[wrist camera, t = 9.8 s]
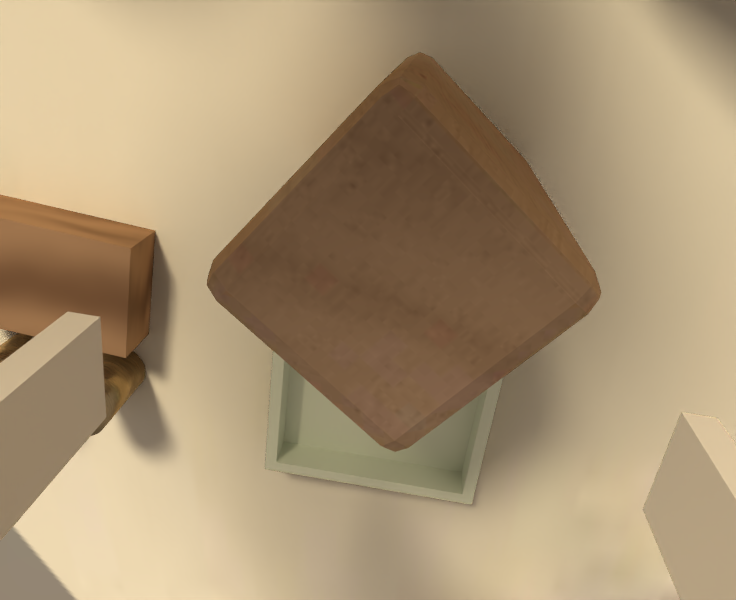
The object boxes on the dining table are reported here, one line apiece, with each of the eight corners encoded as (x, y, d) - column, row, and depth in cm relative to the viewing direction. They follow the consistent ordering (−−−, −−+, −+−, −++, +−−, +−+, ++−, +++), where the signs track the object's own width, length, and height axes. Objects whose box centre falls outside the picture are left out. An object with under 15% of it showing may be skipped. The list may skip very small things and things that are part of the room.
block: (420, 43, 36) (398, 63, 17) (535, 169, 38) (622, 304, 19) (304, 166, 39) (185, 288, 21) (415, 275, 41) (394, 472, 23)
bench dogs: (6, 328, 46) (-52, 368, 41) (144, 350, 46) (104, 394, 40) (12, 369, 48) (-44, 413, 42) (146, 392, 47) (107, 439, 42)
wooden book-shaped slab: (-14, 189, 42) (-57, 205, 39) (157, 229, 42) (130, 248, 39) (-8, 294, 46) (-47, 317, 42) (150, 331, 46) (125, 358, 42)
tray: (288, 261, 42) (278, 278, 39) (513, 296, 41) (518, 316, 38) (274, 443, 48) (264, 469, 45) (469, 477, 47) (471, 504, 45)
